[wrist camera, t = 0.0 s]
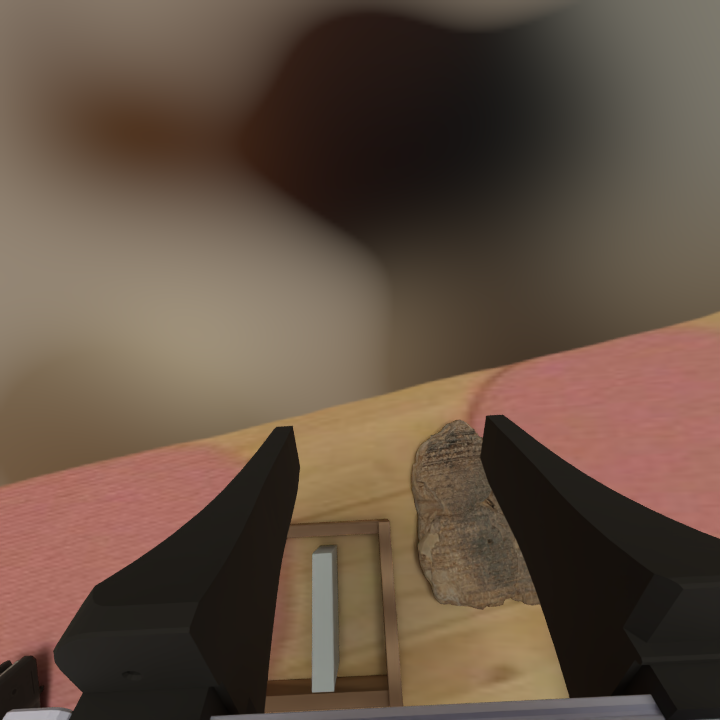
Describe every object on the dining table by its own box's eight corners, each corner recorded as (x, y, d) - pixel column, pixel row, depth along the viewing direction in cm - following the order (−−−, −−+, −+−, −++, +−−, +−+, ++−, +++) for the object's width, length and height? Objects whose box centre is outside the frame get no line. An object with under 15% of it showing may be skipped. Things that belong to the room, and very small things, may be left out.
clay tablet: (398, 430, 45) (423, 610, 37) (402, 422, 41) (432, 625, 33) (500, 420, 46) (546, 595, 38) (516, 411, 41) (572, 608, 33)
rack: (399, 688, 35) (403, 715, 31) (219, 698, 35) (199, 725, 31) (387, 518, 41) (389, 521, 37) (233, 526, 41) (218, 530, 37)
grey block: (339, 661, 36) (333, 691, 30) (320, 661, 36) (312, 692, 31) (337, 544, 40) (331, 552, 35) (320, 545, 40) (312, 553, 35)
